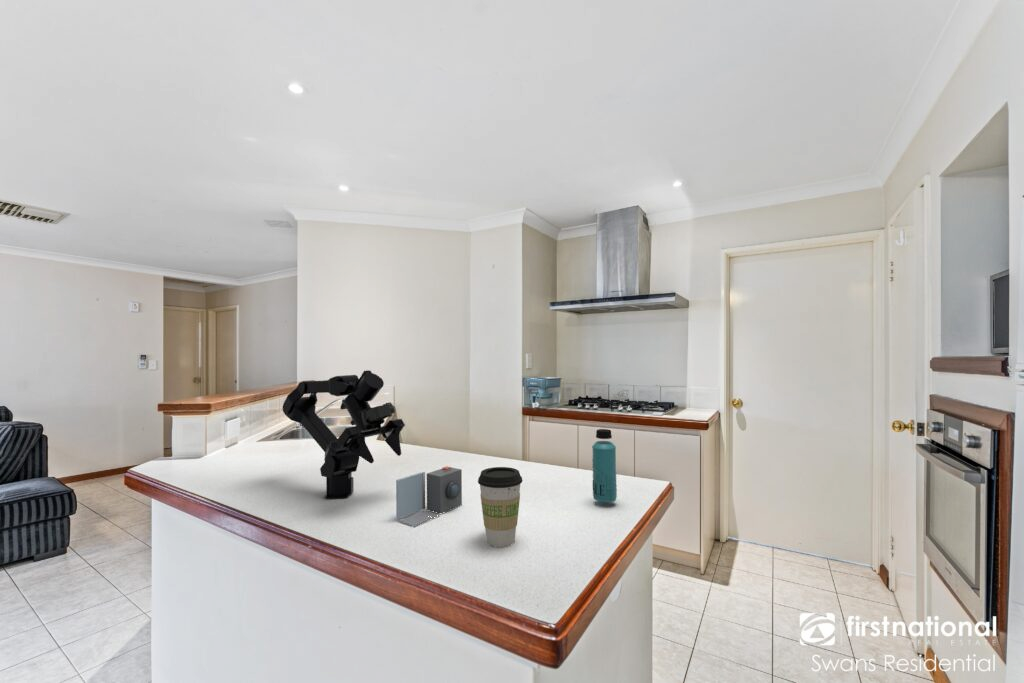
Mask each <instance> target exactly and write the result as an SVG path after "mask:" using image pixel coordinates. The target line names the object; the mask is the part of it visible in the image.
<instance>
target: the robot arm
mask: <svg viewBox="0 0 1024 683" xmlns="http://www.w3.org/2000/svg"><path fill="white" fill-rule="evenodd" d="M384 384H385V383H384V380H383V379H382V378H381V377H380V376H379V375H377V374H376V373H373V372H372V370H369V369H367V370H364V371H362V373H361V375H360V377H359V376H358V375H357V374H349V375H348V374H345V375H335V376H333V377H330V378H329V379H325V380H314V379H313V380H302V381H300V382H299V383H298V384H297V387H296V388H295V389H294V390H292V391H290V393H289V394H287V396H286V398H285V400H284V402H283V405H282V412H283V414H284V415H285V416H286V417H287V418H288V419H289V420H290V421H292V422H295V423H299V424H301V426H302V427H303V428H304V429H305V430H306V431H307V433H308V434H309V436H311V437H312V439H313V440H314V441H315V442H316V443H317V445H319V447H320V448H321V449H322V451H323V453H324V461H323V462H324V463H322V465H321V467H320V468H319V470H320V475H321V476H322V477H325V480H326V489H325V491H326V493H325V494H326V495H324V497H323V498H324V499H325V498H330V499H345V498H346V499H348V498H349V497H348V496H349V495H350V496H351V494H352V493H353V492H354V484H355V483H354V477H353V476H352V473H353V472H357V469H358V465H359V461H360V458H362V459H364V460H365V461H367V462H368V463H369V464H373V463H374V462H375V459H374V458H373V455H372V453H371V451H370V448H369V447H368V445H367V443H366V438H368V437H374V436H379V435H381V436H382V437H383V438H385V439H384V442H385V443H386V444H387V445H388V446H389V447H390V449H391V450H392V451H393V452H394V453H395V455H396V456H398V457H401V455H402V449H401V448H402V447H401V441H400V434H401V431H403V429H404V428H405V426H406V424H405V423H404V421H403V418H395V419H390V420H388V421H387V422H386V424H385V425H384V426H382V424H384V423H385V419H387V418H390V417H393V416H392V415H393V414H394V413H395V412H396V411H395V406H394V405H393V403H392V402H386V403H384V404H382V405H377V406H373V407H371V405H370V403H369V402H371V401H373V400H374V399H375V397H376V396H377V395H378V393H379V392H381V389H382V388H383V387H384ZM321 393H322V394H325V393H329V395H331V396H335V397H343V396H346V397H345V398H344V399H342V400H341V404H340V410H347V412H348V413H349V416H350V418H351V419H352V420H351V421H350V424H351V426H350V427H345V428H344V430H343V431H342V432H341V433H340V435H339V436H338V437H337V436H336V435H335V434H334V432H332V431H331V429H330V428H329V427H328V426H327V425H326V424H325V422H324V421H323V420H322V419H321V418H320V417H319V416H318V415H317V413H316V406H317V402H318V396H317V394H321ZM308 394H310V395H309V396H304V395H308ZM347 497H348V498H347Z"/></svg>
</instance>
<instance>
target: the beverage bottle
mask: <svg viewBox="0 0 1024 683" xmlns="http://www.w3.org/2000/svg"><path fill="white" fill-rule="evenodd" d="M595 434H596V435H595V438H596V439H601V440H598V441H596V442H594V444H593V445H592V459H591V461H592V462H591V463H592V496H593V499H594V500H595V501H596V502H601V503H613V502H615V501H616V500H617V498H618V495H617V494H618V492H617V491H618V488H617V460H616V454H617V453H616V451H617V450H616V448H617V446H616V445H615V444H614V442H612V441H608V440H610V439H612V436H613V435H612V430H611V429H607V428H606V429H605V428H599V429H596V431H595Z"/></svg>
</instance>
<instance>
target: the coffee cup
mask: <svg viewBox="0 0 1024 683" xmlns="http://www.w3.org/2000/svg"><path fill="white" fill-rule="evenodd" d="M477 483H478V484H479V487H480V501H481V503H480V504H481V511H482V519H483V526H484V532H485V539H486V543H487V545H489V544H490V545H489V546H491V545H492V546H491V547H494V546H496V547H495V548H505V546H506V547H509V545H510V546H512V545H513V544H514V543H515V541H516V532H517V531H516V530H517V526H518V517H519V511H520V510H519V509H520V499H521V493H520V492H521V484H522V483H523V476H522V475H521V474H520V470H518V469H516V468H513V467H507V466H495V467H488V468H485V469H482V470H481V471H480V475H479V476H478V479H477ZM511 544H512V545H511Z"/></svg>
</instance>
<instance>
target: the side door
mask: <svg viewBox="0 0 1024 683" xmlns="http://www.w3.org/2000/svg"><path fill="white" fill-rule="evenodd" d="M395 489H396V490H395V491H396V495H395V499H396V503H395V505H396V506H395V507H396V508H395V509H396V510H395V511H396V514H395V515H396V516H395V517H396V519H398V520H401V519H403V518H406V517H408V516H411V515H413V514H416V513H418V512H421V511H423V510H426V471H423V472H418V473H414V474H411V475H408V476H405V477H401V478H398V479H396V480H395Z"/></svg>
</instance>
